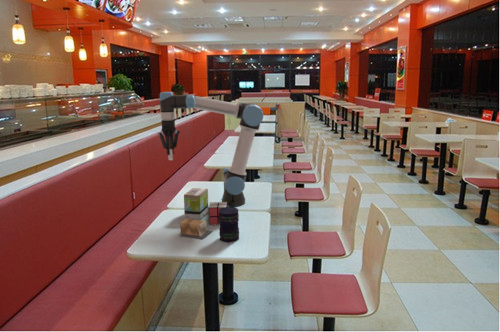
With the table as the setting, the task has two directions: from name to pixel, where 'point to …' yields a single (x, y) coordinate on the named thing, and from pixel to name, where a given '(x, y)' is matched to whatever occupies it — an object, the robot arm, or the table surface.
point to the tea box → (196, 203)
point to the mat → (197, 236)
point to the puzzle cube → (215, 212)
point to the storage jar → (229, 224)
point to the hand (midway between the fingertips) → (170, 160)
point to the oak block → (193, 227)
